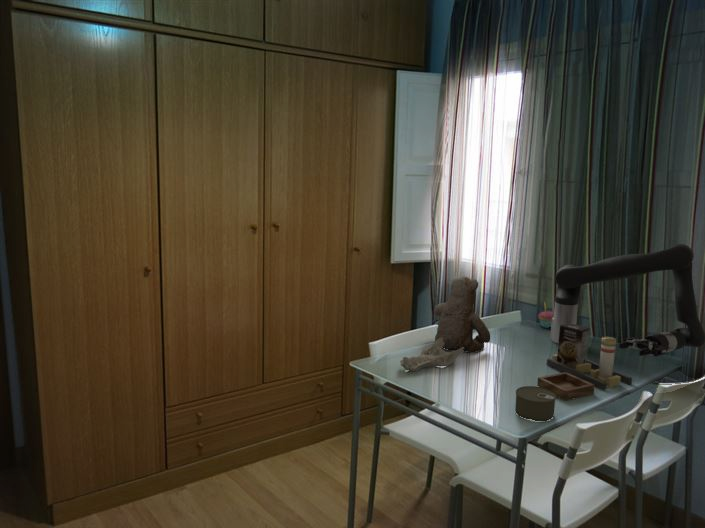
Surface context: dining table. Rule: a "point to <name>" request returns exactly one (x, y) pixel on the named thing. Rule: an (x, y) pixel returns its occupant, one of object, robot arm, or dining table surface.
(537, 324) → the dining table surface
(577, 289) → the robot arm
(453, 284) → the toy
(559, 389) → the tray
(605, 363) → the fuse
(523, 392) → the can
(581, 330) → the coffee box
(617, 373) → the block
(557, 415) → the dining table surface
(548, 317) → the cupcake
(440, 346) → the skull
